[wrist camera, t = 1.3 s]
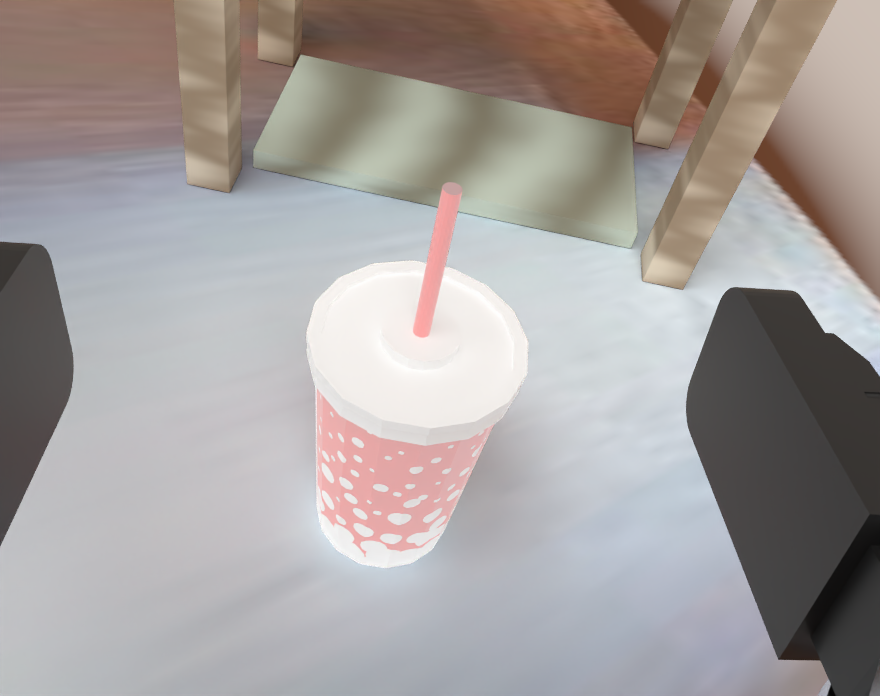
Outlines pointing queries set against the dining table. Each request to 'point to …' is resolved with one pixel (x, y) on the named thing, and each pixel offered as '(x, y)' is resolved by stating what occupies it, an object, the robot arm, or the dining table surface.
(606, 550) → the dining table surface
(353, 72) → the stand
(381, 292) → the beverage cup
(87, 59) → the dining table surface
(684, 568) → the dining table surface
